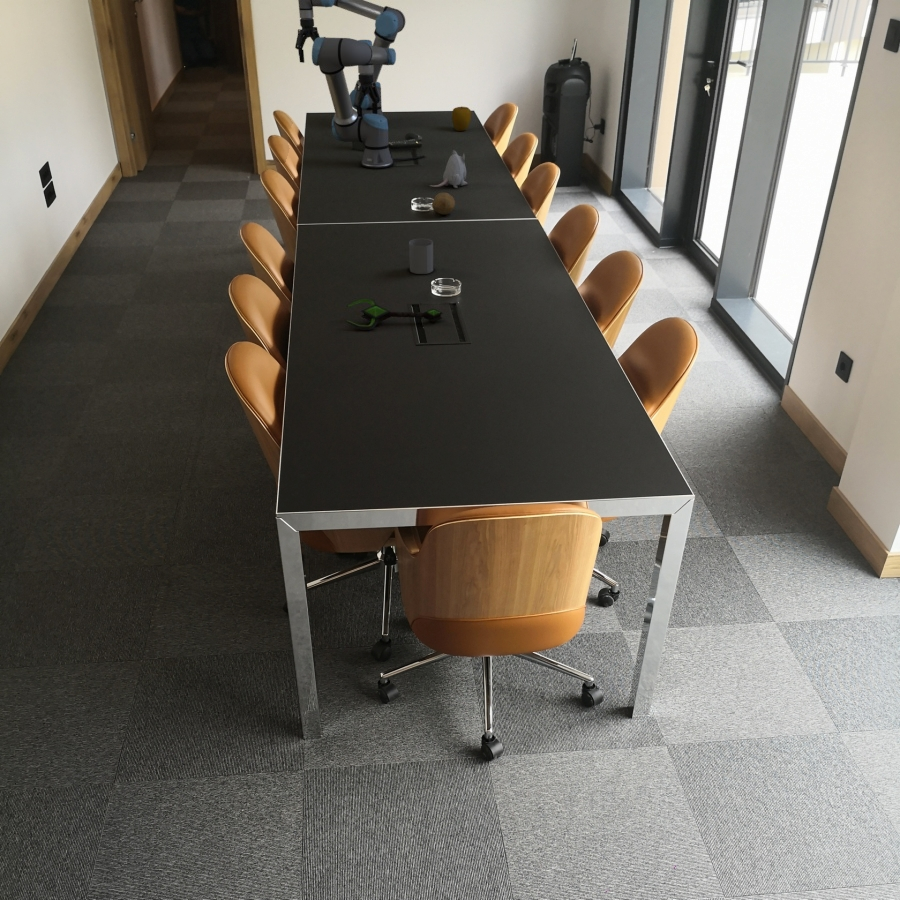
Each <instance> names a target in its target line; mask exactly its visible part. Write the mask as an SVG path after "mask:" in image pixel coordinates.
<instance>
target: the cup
mask: <svg viewBox="0 0 900 900" xmlns="http://www.w3.org/2000/svg"><path fill="white" fill-rule="evenodd" d="M408 253H409V272H411V273H412V274H416V275H426V274H430V273H432V272H434V241H433V240H431V239H428V238H422V237H421V238H420V237H419V238H414V239H411V240H410V241H409V242H408Z"/></svg>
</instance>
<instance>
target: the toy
mask: <svg viewBox="0 0 900 900" xmlns="http://www.w3.org/2000/svg"><path fill="white" fill-rule="evenodd" d="M466 178H467V168H466V156H465V153H463V154H462V155H459V154H458V153H457V151H456V150H455V149H453V150H452V153H451V155H450V156H449V158H448V161H447V163H446V166H445V170H444V171H443V177H442V179H443V181H442V182H441V183H439V184H436V185H435V184H433V185H432V184H430V185H428V186H429V187H434V188H440V187H443V186H446V187H448V186H449V185H451V186H453V188H455V189H459V187H458V186H461V187H462V186H467V185H468V182H467V181H465V180H466Z"/></svg>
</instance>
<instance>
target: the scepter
mask: <svg viewBox="0 0 900 900" xmlns="http://www.w3.org/2000/svg"><path fill="white" fill-rule="evenodd" d="M360 303H368V304H370V305H371V306H369V307H367V308H364V309H362V310H360V312H361V313H362V315H361V317H362V318H363V319H366V320H367V321H369V322H370V324H368V325H361V324H357V323H355V322H353V321H350V320H345V322H346V323H347V324H349V325H351V326H352V327H354V328H355V329H358V330H366V331H367V330H369V331H370V330H374V328H375V327H376V325H377V324H380V323H381V322H384V321H386V320H388V319H390V318H412V319H413V318H416V319H417V318H418V319H421V318H423V319H425V320H427V321H429V322H433V323H435V322H437V321H440V320H442V319H443V317H442V314H443V312H442V311H440V310H437V309H435V308H431V309H429V310H426V311H424V312H422V311H418V312H413V311H409V312H408V311H391V310H389V309H387V308H385V307H383V306H381V305H380V304H377V302H376V301H375V300H374V299H373V298H359V299H356V300H354V301H352V302H350V303H348V304H346V307H352V306H355V305H357V304H360Z"/></svg>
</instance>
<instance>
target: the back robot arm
mask: <svg viewBox="0 0 900 900" xmlns="http://www.w3.org/2000/svg"><path fill="white" fill-rule="evenodd" d="M297 1H298V10H299V12H298V13H299V26H300V27H301V29H297V36H296V42H295V46H294V48H295V49H296V50H297V51H298V57H299V63H301V64H304V63H305V55H304V54H305V53H304V52H305V51H304V49H303V48H304V46H305V43H306V41H307V39H308V38H310V39H311V41H312V42H313V43H314V41H315V39H316V38H318V37H321V36H320V33H319V30H318V27H317V26H315V19H314V18H315V17H314V16H315V14H314V8H315V7H316V8H332V7H337V8H340V9H342V10H345V11H348V12H351V13H354V14H357V15H359V16H362V17H365V18H368V19H370V20H373V21H375V22H374V27H375V29H374V30H373V34H374V40H373V42H372V46H376V47H382V48H390V46H391V44H393V43H395V40H396V39H397V36H398V33H400V32H402V31H403V30H404V29H405V26H406V16H405V15H404V13H403V12H402V11H401V10H400V9H397V8H394V7H391V6H387V5H385V6H381V5H379V4H376V3H373V2H370V1H367V0H297ZM383 66H384V65H376V64H373V73H372V74H373V78H374V82H373V83H376V88H377V91H378V94H379V98H380V101H379V103H377V105H378V109H377V111H378V115H382V116H384V117H385V115H384V112H383V109H382V107H383V106H382V86H381V85H382V84H381V83H380V82H379V81H378V79H379V76H380V73H381V70H382V68H383ZM360 85H361V83H360V82H359V79H357V80H356V82H355V86H354V88H353V89H352V90H351V91H350V92H349V95H350V99H351V103H352V107H353V109H354V110H356V111H357V108H356V107H355V106H354V100H355V95H356V91H357V86H360ZM372 103H374V102H373V101H372V99H371V97H370V95H369V94H366V96H365V97H364V100H363V102H362V105H361V107H362V117H363V115H364V114H372Z"/></svg>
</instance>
